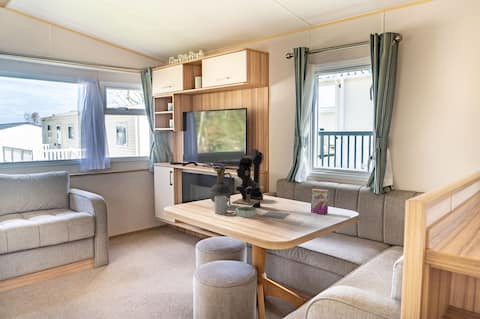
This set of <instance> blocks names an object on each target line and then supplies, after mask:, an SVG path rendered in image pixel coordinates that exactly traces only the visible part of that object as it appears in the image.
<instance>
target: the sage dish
mask: <svg viewBox="0 0 480 319" xmlns="http://www.w3.org/2000/svg"><path fill="white" fill-rule="evenodd" d="M235 215H236V217H243V218H250V217H255V216H257V208H254V207H252V206H248V205H245V206H239V207H238V206H237V207H236V208H235Z"/></svg>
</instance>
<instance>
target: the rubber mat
mask: <svg viewBox="0 0 480 319" xmlns="http://www.w3.org/2000/svg"><path fill="white" fill-rule="evenodd" d="M290 215H291V213H287V212H278V211H271V210H270V211H269V210H268V211H267V212H265V213H263V214H261V215H260V217H261V218H262V217H263V218H269V219H270V218H271V219H276V220H284V219H286V218H288V217H289V216H290Z"/></svg>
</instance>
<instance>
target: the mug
mask: <svg viewBox="0 0 480 319" xmlns="http://www.w3.org/2000/svg"><path fill="white" fill-rule="evenodd" d="M227 201H228V202H227ZM231 205H232V202H231V198H230V199H229V198H227V197H226V196H215V203H214V214H216V215H226V214H228V209H229V208H230V207H231Z"/></svg>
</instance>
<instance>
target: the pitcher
mask: <svg viewBox="0 0 480 319" xmlns="http://www.w3.org/2000/svg"><path fill="white" fill-rule="evenodd" d="M226 170H227V169H226V167H225V166H223V165H219V167H218V169H216V168H215V169H214V170H213V171H214V172H216V178H217V179H216V180H217V181H216V183H215V184H213V185H212V186H211V187H210V191H209V198H210V200H211V201H212V202H213V203H214V204H215V196H226V197H227V198H229V199H230V200H231V196H232V189H231V188H230V186H231V183H232V181H233V180H232V178H233V177H232V174H231V172H229V171H228V172H226ZM227 175H229V183H228V184H226V183H225V176H227ZM227 203H229V201H227Z"/></svg>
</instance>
